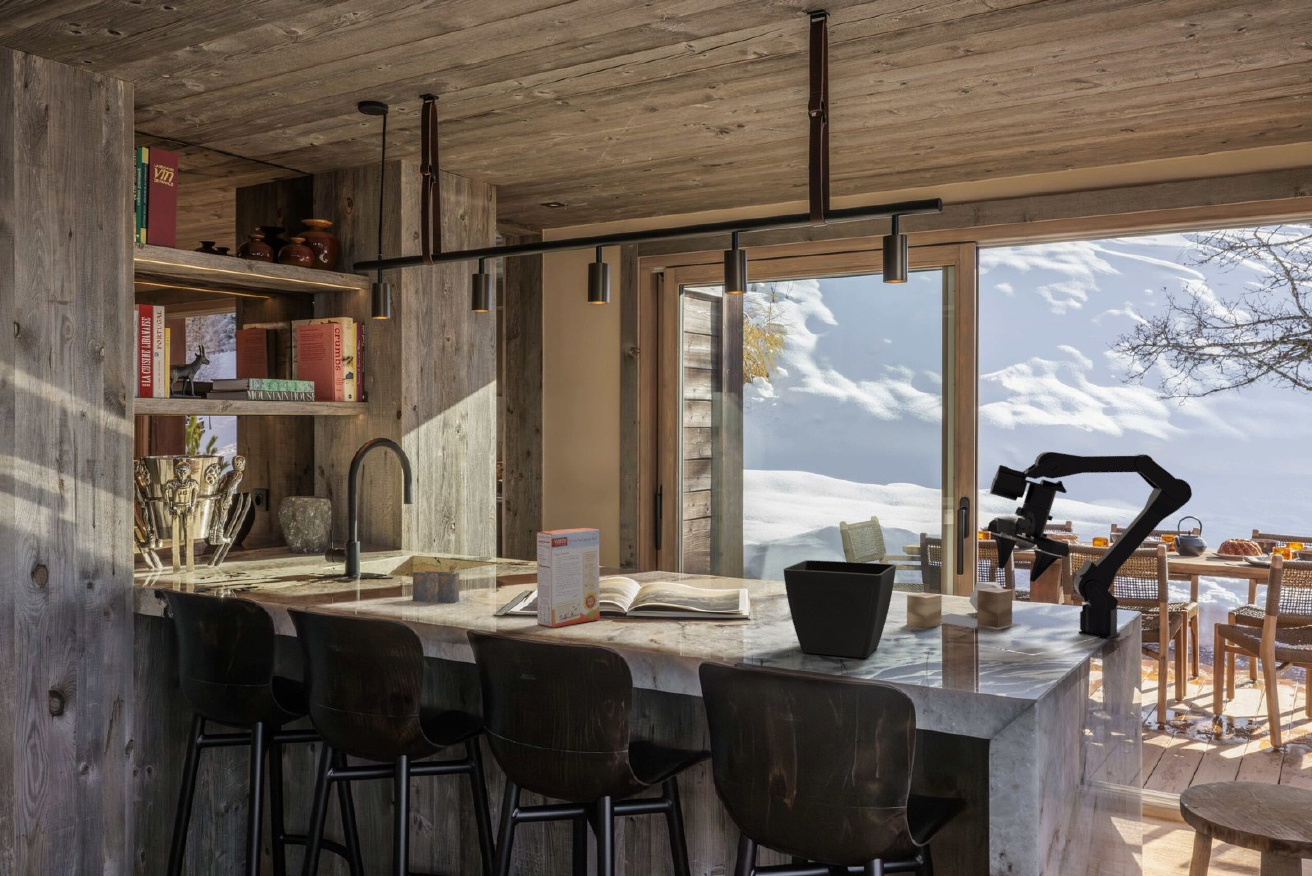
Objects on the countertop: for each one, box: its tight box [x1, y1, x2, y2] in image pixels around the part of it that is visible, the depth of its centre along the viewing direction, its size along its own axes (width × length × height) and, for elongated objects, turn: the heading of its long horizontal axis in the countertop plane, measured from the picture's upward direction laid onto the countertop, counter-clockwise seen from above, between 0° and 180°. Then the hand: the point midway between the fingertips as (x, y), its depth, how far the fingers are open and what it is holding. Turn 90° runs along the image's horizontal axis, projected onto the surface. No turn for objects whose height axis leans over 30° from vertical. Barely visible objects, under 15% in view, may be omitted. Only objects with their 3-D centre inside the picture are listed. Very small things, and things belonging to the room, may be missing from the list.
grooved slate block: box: [412, 563, 460, 604], centre depth 253 cm, size 11×3×10 cm, turn 78°
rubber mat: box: [941, 612, 1021, 632], centre depth 229 cm, size 18×12×1 cm, turn 41°
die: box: [968, 581, 1004, 613], centre depth 240 cm, size 8×9×10 cm
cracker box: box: [536, 527, 600, 629], centre depth 226 cm, size 14×6×21 cm, turn 135°
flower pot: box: [783, 559, 897, 659], centre depth 199 cm, size 19×19×17 cm
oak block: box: [906, 592, 943, 629], centre depth 226 cm, size 5×6×7 cm
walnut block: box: [976, 588, 1013, 630], centre depth 225 cm, size 5×6×8 cm
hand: (1016, 575), depth 221 cm, fingers open, 9 cm apart
